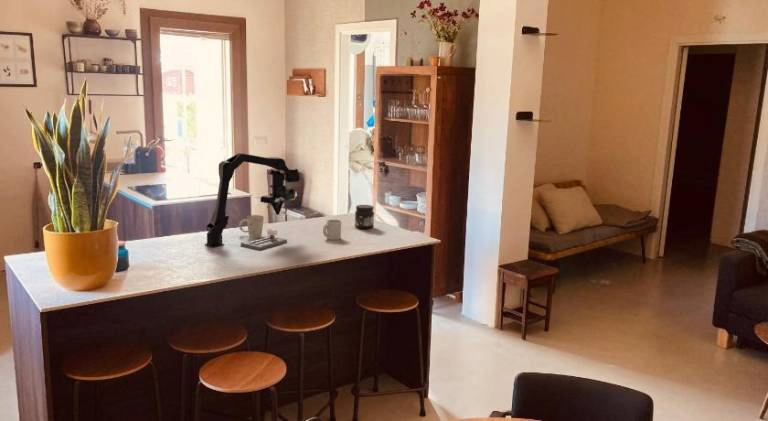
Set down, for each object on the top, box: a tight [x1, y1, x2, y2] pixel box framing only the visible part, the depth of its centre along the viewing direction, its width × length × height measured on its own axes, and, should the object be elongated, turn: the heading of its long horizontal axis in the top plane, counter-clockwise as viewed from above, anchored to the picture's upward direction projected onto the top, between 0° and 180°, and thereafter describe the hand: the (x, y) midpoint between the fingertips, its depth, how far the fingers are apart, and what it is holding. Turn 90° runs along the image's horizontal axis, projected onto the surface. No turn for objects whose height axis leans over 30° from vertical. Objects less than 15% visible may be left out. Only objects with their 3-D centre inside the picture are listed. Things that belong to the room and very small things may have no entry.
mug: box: [238, 214, 265, 239], centre depth 304 cm, size 8×13×10 cm, turn 89°
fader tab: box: [267, 228, 278, 239], centre depth 295 cm, size 2×4×4 cm, turn 58°
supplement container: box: [354, 204, 375, 231], centre depth 332 cm, size 10×10×12 cm
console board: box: [240, 234, 288, 251], centre depth 291 cm, size 19×12×2 cm, turn 148°
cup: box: [322, 219, 342, 241], centre depth 306 cm, size 7×10×9 cm
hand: (277, 214), depth 298 cm, fingers closed
